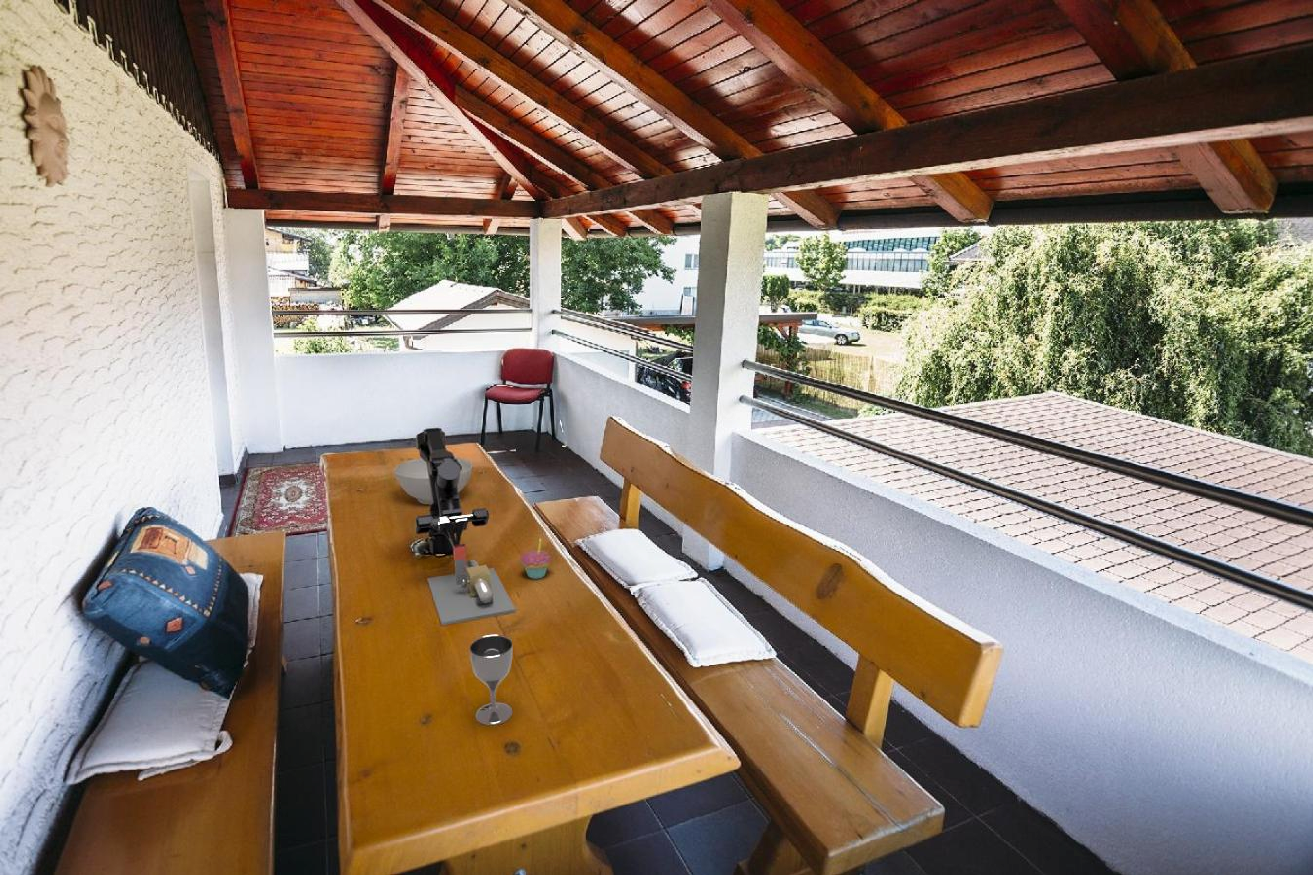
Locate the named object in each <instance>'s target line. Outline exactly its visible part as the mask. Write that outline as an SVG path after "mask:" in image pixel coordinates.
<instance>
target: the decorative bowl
mask: <svg viewBox="0 0 1313 875" xmlns="http://www.w3.org/2000/svg"><path fill="white" fill-rule="evenodd" d="M454 457H455V459H457V461H458V462H459V463H460V465H461V466H462V470H461V473H460V478H459V483H458V486H457V487H458V492H459V493H460V492H461V491H462V490H463V489H464V488H465V486H466V485H467V483H468V481H469V479H470V477H471V474H472V472H473V463H472V462H471V461H470V460H468V459H465V458H461V457H456V456H454ZM393 469H394V470H393V473H394V475H395V478H396V481H397V482H398V484H399V486H400V487H401V488H402V489H403V490H404V492H406V493H407V494H408V495H409V496H411V497H412V498H414V499H417V502H418V503H420V504H423V505H430V506H431V505H432V497H431V490H430V484H429V477H428V470H427V464H426V462H425V461H424V460H423V459H422V458H421V457H420V458H413V459H409V460H407V461H403V462H401V463H399V464H397V465H396V466H395V467H394V468H393Z"/></svg>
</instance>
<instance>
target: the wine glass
mask: <svg viewBox="0 0 1313 875" xmlns="http://www.w3.org/2000/svg"><path fill="white" fill-rule="evenodd" d="M469 657H470V663H471V668H472V671H473V673H474V675H475V677H476V678H477V679H478V680H479V681H481V682H482V683H483V684H484V685H486V686H487V688H488V689H489V694H490V699H491V700H490V702H489V703H486V704H484V705H482V706H480V707H479V708H478V709H477V710H476V713H475V720H476V721H477V722H478V723H480V724H483V725H486V726H495V725H499V724H500V725H501V724H503V723H505V722H507V721H508V720H509V719H510V718H512V717H511V716H513V709H512V707H511V706H510V705H509V704H507V703H504V702H499V701H497V702H496V698H497V697H496V694H497V688H498V687H499V684H500V683H501V682H502V681H503V680H504V679H505V678H506V677H507V675H508V674H509V673H510V670H511V667H512V660H513V642H512V640H511V639H510V638H509V637H507V636H505V635H500V634H489V635H483V636H481V637H479V638H477V639H474V640H473V641H472V642H471V644H470V646H469Z"/></svg>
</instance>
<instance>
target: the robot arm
mask: <svg viewBox="0 0 1313 875" xmlns="http://www.w3.org/2000/svg"><path fill="white" fill-rule="evenodd" d="M415 436H416V437H415V446H416V447H415V448H416V450H418V453H419V457H420V458H422V459H423V460H424V461H425V462H426V464H427V470H428V477H429V484H430V490H431V497H432V505H430V508H429V511H428V515H418V516H417V517H416V518H415V520H414V521H415V522H414V530H415V534H416V535H422V534H427V535H428V538H429V540H428V545H429V549H430V551H429V553H430V554H432V555H434V554H445V555H447V554H451V555H454V551H453V545H459V544H461V539H462V538H461V537H462V533H463V532H464V531H466V530H467V529H468V525H469V523H471V525H472V526H474V527H476V528H477V527H482V526H486V525H488V521H489V518H490V513H489V509H487V508H486V507H482V508H476V509H475V508H474V509H472V512H471V514H463V510H462V505H461V504H462V503H461V498H460V495H459V494H460V492H458V487H457V486H458V483H459V478H460V473H461V470H462V466H461V465H460V463H459V462H458V461H457V459H455V457H456V456H455V455H454V454H453V452H451V451H449V450H447V447H446V445H447V438H446V432H445V431H443V429H442V428H440V427H430V428H426V429H423V430H422V432H419V433H417V434H416V435H415ZM447 556H448V555H447Z"/></svg>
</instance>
